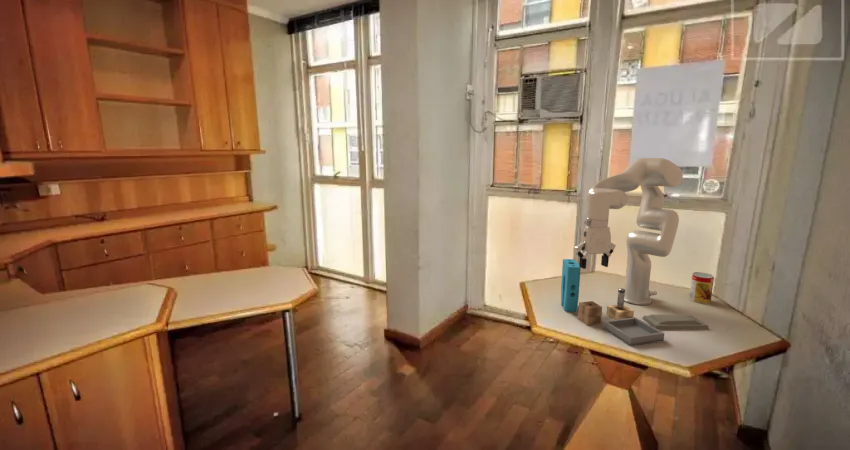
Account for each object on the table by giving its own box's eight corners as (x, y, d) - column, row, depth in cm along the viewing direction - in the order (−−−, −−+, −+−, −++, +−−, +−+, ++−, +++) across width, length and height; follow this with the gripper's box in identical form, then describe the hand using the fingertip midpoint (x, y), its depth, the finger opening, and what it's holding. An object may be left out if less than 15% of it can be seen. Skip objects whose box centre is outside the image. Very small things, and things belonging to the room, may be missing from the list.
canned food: (714, 304, 173) (718, 277, 171) (695, 303, 174) (698, 277, 172) (704, 297, 181) (707, 272, 178) (685, 296, 182) (688, 271, 179)
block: (578, 313, 165) (581, 267, 161) (565, 313, 165) (568, 267, 161) (571, 302, 176) (574, 259, 172) (559, 302, 177) (562, 259, 173)
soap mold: (709, 331, 149) (710, 322, 149) (655, 331, 150) (656, 322, 149) (691, 319, 159) (692, 311, 159) (641, 319, 160) (642, 311, 159)
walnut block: (591, 317, 161) (592, 301, 160) (600, 323, 155) (602, 306, 154) (578, 319, 159) (579, 302, 158) (587, 325, 154) (588, 308, 152)
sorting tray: (634, 324, 154) (635, 317, 154) (663, 341, 141) (664, 333, 140) (603, 328, 151) (603, 321, 150) (630, 346, 138) (630, 338, 137)
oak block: (620, 313, 165) (621, 304, 164) (633, 320, 158) (634, 310, 157) (606, 314, 163) (606, 305, 162) (618, 322, 156) (619, 312, 156)
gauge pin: (619, 315, 162) (622, 287, 160) (624, 318, 160) (626, 290, 157) (614, 316, 162) (616, 288, 159) (618, 319, 159) (621, 290, 157)
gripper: (583, 226, 144) (579, 271, 147) (623, 224, 148) (619, 268, 151) (571, 222, 151) (568, 265, 154) (609, 220, 155) (606, 262, 159)
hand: (593, 266), depth 153 cm, fingers open, 9 cm apart
